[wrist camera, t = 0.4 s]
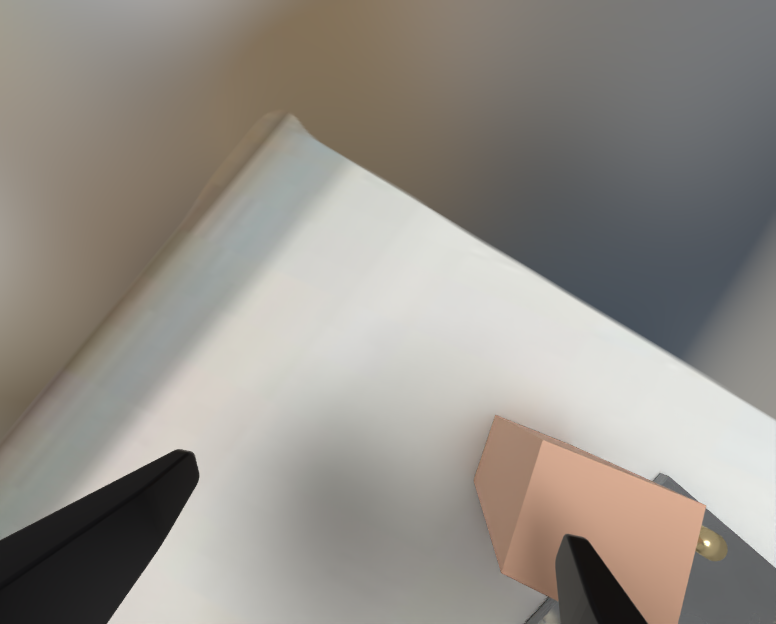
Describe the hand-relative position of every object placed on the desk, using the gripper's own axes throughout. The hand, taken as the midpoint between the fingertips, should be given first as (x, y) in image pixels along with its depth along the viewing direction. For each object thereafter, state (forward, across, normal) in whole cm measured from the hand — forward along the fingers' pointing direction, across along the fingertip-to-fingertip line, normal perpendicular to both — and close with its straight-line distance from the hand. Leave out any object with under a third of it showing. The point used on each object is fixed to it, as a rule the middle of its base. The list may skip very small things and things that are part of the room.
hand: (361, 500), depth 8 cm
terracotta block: (+11, -6, +9) cm, 16 cm away
